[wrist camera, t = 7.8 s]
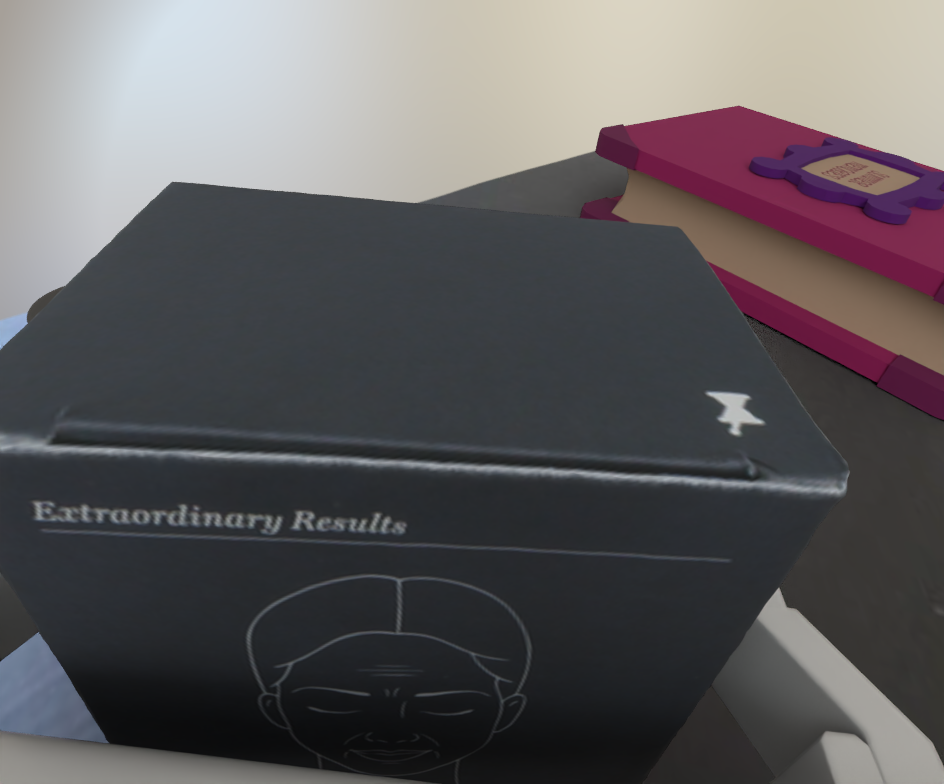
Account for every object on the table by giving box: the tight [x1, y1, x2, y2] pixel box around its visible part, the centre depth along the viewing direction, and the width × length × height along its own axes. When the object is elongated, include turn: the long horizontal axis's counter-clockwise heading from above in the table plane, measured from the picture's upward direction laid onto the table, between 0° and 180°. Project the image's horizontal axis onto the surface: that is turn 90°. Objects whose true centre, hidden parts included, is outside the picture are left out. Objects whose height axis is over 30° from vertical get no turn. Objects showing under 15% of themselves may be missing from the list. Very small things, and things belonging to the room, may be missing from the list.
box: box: [0, 182, 849, 784], centre depth 10 cm, size 8×6×11 cm
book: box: [580, 106, 944, 420], centre depth 43 cm, size 21×28×8 cm
